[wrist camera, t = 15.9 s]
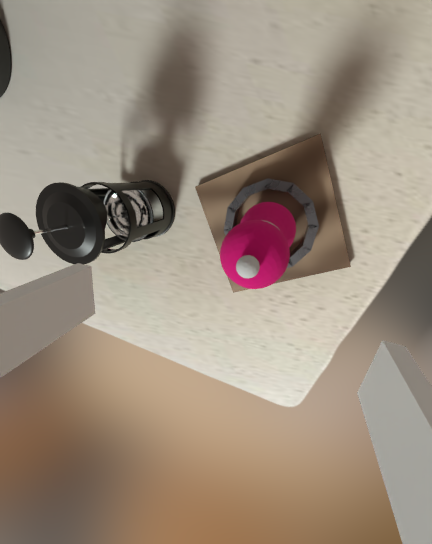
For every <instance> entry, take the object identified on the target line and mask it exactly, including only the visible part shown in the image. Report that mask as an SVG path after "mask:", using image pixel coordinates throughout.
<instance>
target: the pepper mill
mask: <svg viewBox="0 0 432 544" xmlns="http://www.w3.org/2000/svg"><path fill="white" fill-rule="evenodd" d="M295 234H296V223H295V220H294V217H293V215H292V214H291V212H290V211H289V210H288V209H287V208H286V207H284V206H283V205H281V204H278V203H275V202H262V203H259V204H256V205H254V206H253V207H251V208H250V209H249V210H248V211H247V212H246V213H245V215H244V216H243V218H242V220H241V222H240V224H238V225H236V226H235V227H233V228H232V229H231V230H230V231H229V232H228V234H227V235H226V236H225V238H224V240H223V242H222V245H221V249H220V260H221V264H222V267H223V269H224V272H225V273H226V275H227V276H228V277H229V278H230V279H231V280H232V281H233V282H235V283H236V284H238V285H240V286H242V287H244V288H249V289H259V288H264V287H267V286H269V285H271V284H273V283H275V282H276V281H277V280H278V279H279V278H280V277H281V276H282V275H283V274H284V272H285V271H286V268H287V266H288V263H289V258H290V250H289V247H290V246H291V245H292V243H293V241H294V238H295Z"/></svg>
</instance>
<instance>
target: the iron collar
mask: <svg viewBox="0 0 432 544" xmlns="http://www.w3.org/2000/svg"><path fill="white" fill-rule="evenodd" d="M266 189H272V190H278V191H283V192H288V193H289V194H291V195H292V196H293V197H294V198H295V199H296V200H297V201H298V202H299V203H300V204H301V205H303V207H304V211H305V214H306V218H307V222H308V225H307V228H306V231H305V234H304V238H303V241H302V242H301V243H300V244H299V245H298V246H297V247H296V248H295V249H294V250H293V251H292V252H291V253H290V258H289V263H288V266H287V268H289V267H293V266H294V265H295V264H296V263H297V262H299V261H300V260H301V259H302V258H303V257H304V256H305V255H306V254H308V253H309V252H310V251H311V249H312V246H313V243H314V240H315V237H316V234H317V231H318V228H319V224H318V220H317V216H316V212H315V208H314V204H313V200H312V199H310V198H309V197H308V196H307V195H306V194H305V193H304V192H303V191H302V190H301V189H300V188H299V187H297V186H296V185H295V184H294V183H291V182H286V181H280V180H274V179H269V178H267V179H265V180H262V181H260V182H257V183H255V184H252V185H250V186H247V187H244V188H243V189H242V190H241V191H240V193H239V194H238V195H237V196H236V197H235V199H234V200H233V201H232V202H231V204H230V205H229V206H228V207H227V214H226V220H225V225H224V233H225V236H226V235H227V234H228V232H229V231H230V230H231V229H232V228H233V227H235V226H236V223H237V218H238V212H239V209H240V208H241V206H242V205H243V204H244V203H245V202H246V200H247V199H248V198H249V197H250V196H251V195H252V194H255V193H258V192H260V191H263V190H266Z"/></svg>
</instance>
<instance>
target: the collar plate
mask: <svg viewBox="0 0 432 544" xmlns="http://www.w3.org/2000/svg"><path fill="white" fill-rule="evenodd" d="M267 178H269V179H274V180H280V181H286V182H291V183H294V184H295V185H296V186H297V187H299V188H300V189H301V190H302V191H303V192H304V193H305V194H306V195H307V196H308V197H309V198H310V199H312V200H313V204H314V208H315V212H316V216H317V220H318V224H319V228H318V231H317V234H316V237H315V240H314V243H313V246H312V249H311V251H310V252H309V253H308V254H306V255H305V256H304V257H303V258H302V259H301V260H300V261H299V262H297V263H296V264H295V265H294V266H293V267H289V268H286V271H285V272H284V274H283V275H282V276H281V277H280V278H279V279H278V280H277V281H276V282H275V283H278V282H283V281H288V280H292V279H297V278H301V277H306V276H310V275H315V274H319V273H324V272H328V271H333V270H337V269H342V268H346V267H351V266H350V261H349V257H348V252H347V248H346V243H345V239H344V235H343V230H342V226H341V221H340V217H339V213H338V208H337V204H336V199H335V195H334V191H333V186H332V182H331V177H330V173H329V169H328V164H327V160H326V155H325V151H324V146H323V142H322V138H321V134H318V135H316V136H314V137H311V138H309V139H307V140H304V141H302V142H300V143H297V144H295V145H292V146H290V147H288V148H285V149H283V150H281V151H278V152H276V153H274V154H271V155H269V156H267V157H264V158H262V159H260V160H257V161H255V162H253V163H250V164H248V165H245V166H243V167H241V168H238V169H236V170H234V171H231V172H229V173H227V174H224V175H222V176H220V177H217V178H215V179H213V180H210V181H208V182H206V183H203V184H201V185H198V186H196V187H195V188H196V190H197V193H198V196H199V199H200V202H201V204H202V207H203V210H204V213H205V215H206V218H207V221H208V224H209V226H210V229H211V232H212V235H213V238H214V240H215V243H216V246H217V249H218V251H219V254H220V249H221V245H222V242H223V240H224V238H225V233H224V225H225V220H226V214H227V207H228V206H229V205H230V204H231V202H232V201H233V200H234V199H235V197H236V196H237V195H238V194H239V193H240V191H241V190H242V189H243V188H244V187H247V186H250V185H252V184H255V183H257V182H260V181H262V180H265V179H267ZM262 202H275V203H278V204H281V205H283V206H284V207H286V208H287V209H288V210H289V211H290V212H291V214H292V215H293V217H294V220H295V223H296V234H295V238H294V241H293V243H292V245H291V246H290V247H289V250H290V253H291V252H292V251H293V250H294V249H295V248H296V247H297V246H298V245H299V244H300V243H301V242H302V241H303V238H304V234H305V231H306V228H307V225H308V222H307V218H306V214H305V211H304V207H303V205H301V204H300V203H299V202H298V201H297V200H296V199H295V198H294V197H293V196H292V195H291V194H289V193H288V192H283V191H278V190H272V189H266V190H263V191H260V192H258V193H255V194H252V195H251V196H250V197H249V198H248V199H247V200H246V202H245V203H244V204H243V205H242V206H241V208H240V209H239V212H238V218H237V223H236V225H238V224H240V222H241V220H242V218H243V216H244V215H245V213H246V212H247V211H248V210H249V209H250V208H251V207H253V206H254V205H256V204H259V203H262ZM228 279H229V282H230V285H231V287H232V290H233V292H238V291H242V290H247V289H249V288H244V287H242V286H240V285H238V284H236V283H235V282H233V281H232V280H231V279H230V278H229V277H228ZM273 284H274V283H273Z"/></svg>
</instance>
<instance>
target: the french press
mask: <svg viewBox="0 0 432 544" xmlns="http://www.w3.org/2000/svg"><path fill="white" fill-rule="evenodd" d="M96 184H99V185H103V186H105V187H107V188H102V189H89V188H90V187H92V186H93V185H96ZM145 189H151V190H153V191H154V192H155V194H156V195H157V196H158V198H159V200H160V202H161V205H162V208H163V220H160V221H156V222H153V211H152V207H151V204H150V202H149V200H148V199H147V197H146V196H145V195H144V193H143V192H142V191H141V190H145ZM174 216H175V209H174V204H173V200H172V198H171V196H170V194H169V193H168V191H167V190H166V189H165V188H164V187H163V186H161V185H160V184H158V183H156V182H154V181H149V180H143V181H139V182H131V183H105V182H91V183H87V184H84V185H83V186H81V187H76V186H74V185H71V184H68V183H53V184H50V185H48V186H47V187H45V188H44V189H43V190H42V192H41V193H40V195H39V197H38V200H37V204H36V218H37V223H38V227H39V230H37V231H33V230H32V229H28V227H27V225H26V224H25V223H24V222H23V221H22V220H21V219H20V218H19V217H17V216H16V215H14V214H11V213H3V214H1V215H0V244H1V246H2V247H3V248H4V250H5V251H6V252H7V253H8V254H9V255H11V256H12V257H14V258H16V259H20V260H25V259H28V258H29V257H30V256H31V255H32V253H33V249H34V242H33V238H35V235H37V234H41V235H42V237H43V239H44V240H45V242H46V244H47V245H48V246H49V247H50V249H51V250H52V251H53V252H54V253H55V254H56V255H57V256H59V257H60V258H61V259H63V260H65V261H67V262H69V263H72V264H77V263H80V264H87V263H90V262H92V261H94V260H95V259H96V258H97V257H98V256H99V255H100V253H101V252H102V253H114V252H117V251H120V250H122V249H124V248H126V247H127V246H128V245H130V243H131V242H136V241H140V240H142V239H149V238H152V237H157V236H160V235H163V234H164V233H166V232H167V231H168V230H169V229H170V227H171V225H172V223H173V221H174ZM106 223H107V225H108V227H109V228H110V229H111V231H112V232H113V233H114V234H115V235H116V236H114V237H111V238H108V239H105V226H106ZM124 242H125V243H124ZM121 243H124V245H123V246H122V247H121V248H119V249H116V250H113V249H108V248H110V247H113V246H116V245H119V244H121Z"/></svg>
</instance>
